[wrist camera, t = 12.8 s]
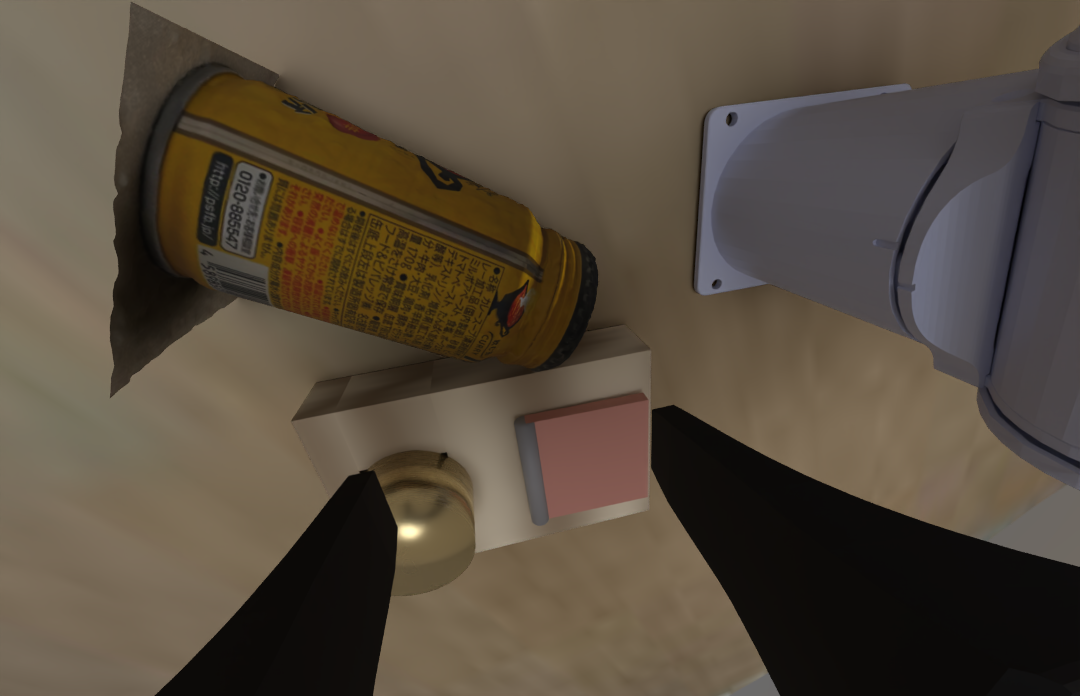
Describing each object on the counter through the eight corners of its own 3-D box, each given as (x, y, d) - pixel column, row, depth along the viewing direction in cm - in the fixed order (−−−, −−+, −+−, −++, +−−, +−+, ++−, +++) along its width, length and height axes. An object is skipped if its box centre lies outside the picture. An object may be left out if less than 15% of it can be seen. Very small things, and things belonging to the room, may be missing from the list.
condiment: (271, 70, 13) (575, 218, 17) (231, 297, 16) (503, 374, 20) (112, -8, 7) (654, 256, 11) (90, 395, 9) (533, 476, 14)
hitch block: (625, 324, 20) (651, 349, 17) (628, 471, 24) (649, 509, 21) (315, 382, 18) (290, 421, 15) (381, 529, 22) (370, 579, 20)
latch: (643, 392, 18) (651, 403, 17) (643, 488, 20) (649, 501, 19) (512, 417, 17) (515, 430, 16) (530, 512, 20) (533, 527, 19)
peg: (478, 417, 20) (485, 505, 15) (463, 493, 22) (465, 593, 17) (371, 409, 19) (338, 502, 14) (365, 490, 21) (335, 598, 16)
